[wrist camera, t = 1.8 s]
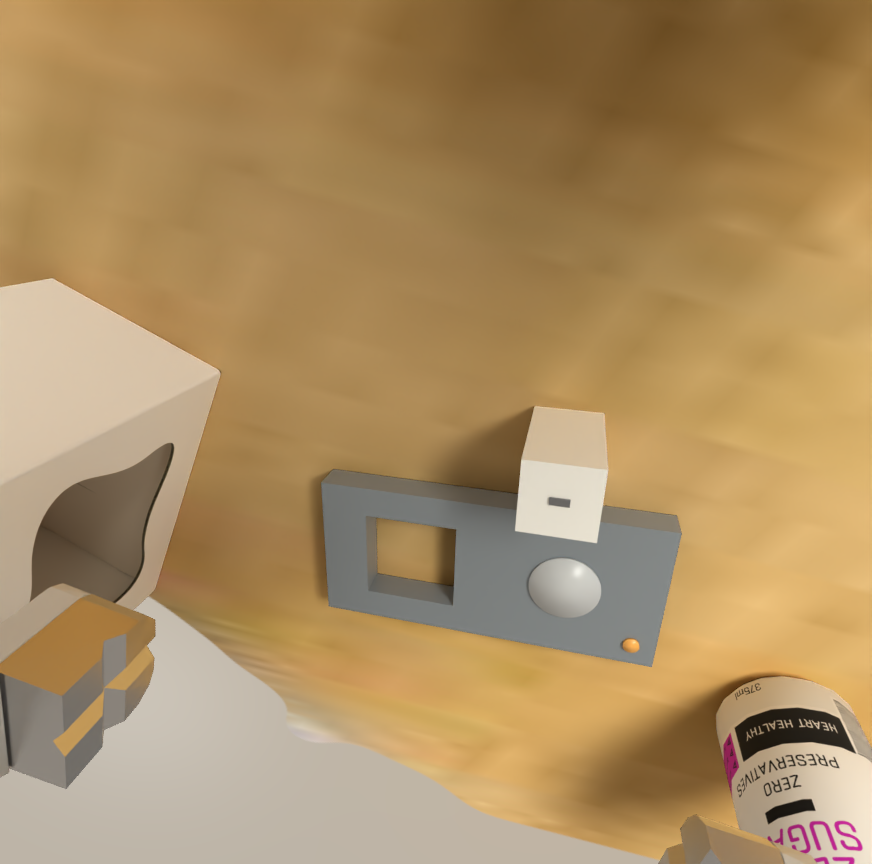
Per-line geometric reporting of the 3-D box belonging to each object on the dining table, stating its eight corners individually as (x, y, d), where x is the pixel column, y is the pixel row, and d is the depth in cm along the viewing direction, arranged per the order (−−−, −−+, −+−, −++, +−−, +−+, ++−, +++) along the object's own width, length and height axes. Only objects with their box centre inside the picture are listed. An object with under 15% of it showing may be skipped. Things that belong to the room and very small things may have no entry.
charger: (604, 413, 34) (608, 470, 27) (595, 474, 35) (596, 544, 28) (534, 405, 34) (521, 460, 28) (528, 466, 36) (514, 532, 29)
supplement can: (804, 779, 40) (913, 1079, 27) (690, 728, 41) (740, 996, 27) (882, 704, 36) (1053, 1007, 23) (755, 649, 37) (850, 913, 24)
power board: (676, 515, 35) (682, 535, 33) (648, 644, 39) (652, 669, 37) (333, 469, 39) (319, 483, 37) (339, 588, 43) (327, 608, 41)
